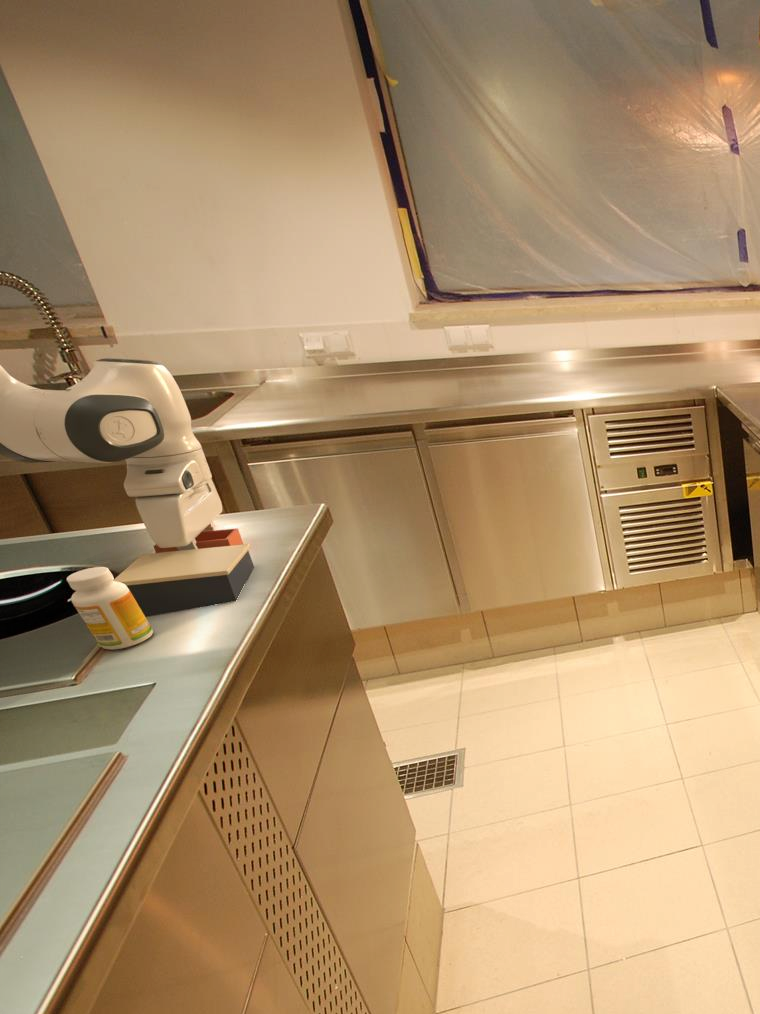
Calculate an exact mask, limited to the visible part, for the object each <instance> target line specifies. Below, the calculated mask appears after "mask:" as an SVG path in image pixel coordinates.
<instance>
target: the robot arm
mask: <svg viewBox="0 0 760 1014" xmlns="http://www.w3.org/2000/svg"><path fill="white" fill-rule="evenodd" d="M92 364H93V365H92V369H91V370H90V371H89V372H88V374H87V375H86V376H84V377H83V378H82V379H81V380H80V381H78V382H76V383H75V384H73V385H70V386H69V387H67V388H65V390H64V389H63V390H61V389H60V390H58V389H42V388H38V387H34V386H32V385H28V384H26V383H23V382H21V381H20V380H17V379H16V378H15V377H13V376H11V375H10V374H9V372H7V370H6V369H5V368H4V367H3V366H2V365H1V364H0V456H2V457H4V458H7V459H9V460H13V461H16V462H19V463H26V464H29V463H30V464H35V463H36V464H37V463H55V462H60V463H61V462H62V463H78V464H81V463H82V464H85V463H90V464H111V463H112V464H113V463H117V462H122V461H125V462H126V476H125V479H124V482H123V488H124V490H125V493H126V495H127V496H128V497H130V498H135V506H136V510H137V513H138V514H139V516H140V519H141V521H142V523H143V525H144V527H145V529H146V531H147V533H148V535H149V537H150V539H151V540H152V541H153V543H154V544H156V545H158V546H159V547H160V548H169V547H176V548H177V549H178V550H179V551H182V550H192V549H198V548H197V546H196V540H195V538H196V537H197V536H198V535H199V534H200V533H201V532H203V531H214V530H216V526H215V524H214V520H215V519H216V518H217V517H219V515H221V513H223V504H222V503H223V502H222V500H221V498H220V495H219V493H218V491H217V488H216V486H215V483H214V481H213V479H212V478H213V475H212V474H213V473H212V472H211V470H210V469H211V468H210V466H209V463H208V461H207V458H206V455H205V452H204V450H203V446H202V444H201V443H200V442H199V440H198V439H197V437H196V436H195V434H194V432H193V428H192V417H191V414H190V411H189V409H188V406H187V403H186V400H185V398H184V396H183V394H182V391H181V389H180V387H179V385H178V384H177V383H178V382H176V380H175V378H174V377H173V375H172V373H171V372H170V371H169V369H167V368H166V366H164V365H163V364H161V363H158V362H156V361H152V360H146V359H128V358H127V359H126V358H112V357H111V358H109V357H107V358H99V359H96V360H94V361H93V363H92Z"/></svg>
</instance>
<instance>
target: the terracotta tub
mask: <svg viewBox="0 0 760 1014" xmlns="http://www.w3.org/2000/svg"><path fill="white" fill-rule="evenodd" d="M240 533H241V532H240V530H239V528H238V527H237V528H226V529H225V528H224V529H217V530H216V529H215V530H214V531H203V532H201V533H200V534H199V535H198V536H197V537H196V538H195V540H196V546H197V548H198V549H203V548H213V547H223V546H233V545H244V542H243V539H242V537H241V534H240ZM153 549H154V551H155V552H154V553H162V552H172V551H179V550H178V549H177V548H176V547H169V548H160V547H159V546H158V545H156V543H154V545H153Z"/></svg>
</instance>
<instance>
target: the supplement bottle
mask: <svg viewBox="0 0 760 1014" xmlns="http://www.w3.org/2000/svg"><path fill="white" fill-rule="evenodd" d="M114 579H115V578H114V575H113V573H112V572H111V570H110V569H109V568H108V567H106V566H94V567H90V568H89V567H88V568H84V569H81V570H78V571H75V572H73V573H71V574H70V575H68V576H67V577H66V582H67V583H68V585H69V587H70V588H71V590H73V591H74V592H73V593H72V595H71V596H70V601H71V603H72V605H73V607H74V608H75V609H76V611H77V612H78V614H79V616H80V618H81V619H82V621H83V623H85V625H86V626H87V628H88V629H89V631H90V633H91V635H92V636H93V637H94V639H95V640H96V642H97V644H98V645H99V647H100V648H102V649H104V650H105V649H106V650H121V649H125V648H130V647H133V646H135V645H138V644H140V643H142V642H144V641H146V640H147V639H149V638H151V636H152V635H153V633H154V630H153V628H152V625H151V623H150V622H149V620H148V619H147V617H145V616H144V614H143V612H142V610H141V609H140V607H139V605H138V604H137V602H136V600H135V598H134V597H133V595H132V594H131V592H130V590H129V589H128V587H127V586H126V585H125V584H123V583H121V582H116V581H113V580H114Z"/></svg>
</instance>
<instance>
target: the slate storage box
mask: <svg viewBox="0 0 760 1014" xmlns="http://www.w3.org/2000/svg"><path fill="white" fill-rule="evenodd" d="M250 549H251V545H250V544H249V543H245V544H244V543H243V545H233V546H223V547H213V548H203V549H192V550H182V551H172V552H162V553H156V552H153V553H151V552H150V553H142V554H141V555H140V556H139V557H138V558H136V559H135V560H134V561H133V562H132V563H131V564H130V565H128V567H126V568H125V569H124V570H123V571H122V572H120V574H119V575H117V576H116V577H115V578H114V580H113V581H116V582H121V583H123V584H125V585H126V586H127V587H128V589H129V590H130V592H131V594H132V595H133V597H134V598H135V600H136V602H137V604H138V605H139V607H140V609H141V610H142V612H143V614H144V616H145V617H146V618H149V617H155V616H159V615H160V616H161V615H166V614H172V613H176V612H177V613H178V612H183V611H189V610H194V609H199V608H200V607H201V608H206V607H211V605H212V606H216V605H215V604H218V605H223V604H229V603H232V602H231V601H235V602H237V601H238V599H239V597H240V596H239V594H240V592H241V590H242V588H243V586H244V584H245V583H246V584H247V582H248V581H249V578H250V576H251V575H250V574H252V573H253V570H254V569H255V565H254V562H253V560H252V557H251V554H250ZM246 581H247V582H246ZM246 584H245V585H246ZM244 587H245V586H244ZM243 589H244V588H243ZM242 591H243V590H242ZM241 593H242V592H241ZM240 595H241V594H240ZM238 596H239V597H238ZM237 598H238V599H237ZM236 600H237V601H236ZM228 602H229V603H228ZM201 608H200V609H201Z"/></svg>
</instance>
